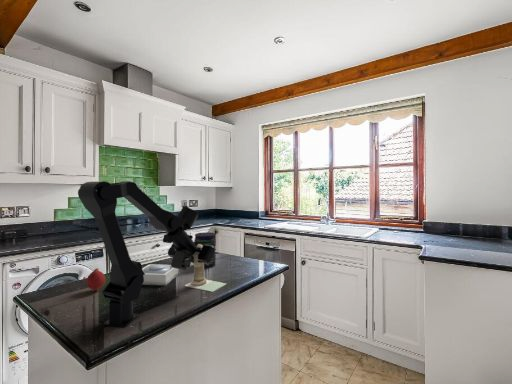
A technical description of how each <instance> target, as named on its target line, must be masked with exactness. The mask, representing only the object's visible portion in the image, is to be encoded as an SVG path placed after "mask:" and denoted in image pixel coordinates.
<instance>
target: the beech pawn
mask: <svg viewBox="0 0 512 384" xmlns="http://www.w3.org/2000/svg"><path fill="white" fill-rule="evenodd" d="M197 247H199V248H202V247H203V245H201V244H198V245H197ZM193 257H194V263H193V278H192V279H191V282H192V285H194V286H201V285H204V284H206V280H207V278H206V277H205V268H204V263H202V262H198V254H194V255H193Z"/></svg>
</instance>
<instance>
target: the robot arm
mask: <svg viewBox="0 0 512 384" xmlns="http://www.w3.org/2000/svg"><path fill="white" fill-rule="evenodd" d="M77 197H78V199H79V200H80V202H81V203H82V205H83V207H84V208H85V210H86V211H88V212H89V214H90V215H91V216H93V218H94V220H95V223H96V226H97V229H98V231H99V235H100V237H101V240H102V242H103V245H104V247H105V251H106V253H107V256H108V259H109V261H110V265H111V267H110V271H109V279H110V281H109V282H108V283H107V285H105V287H104V288H103V290H102V291H101V294H102V296H103V299H105V300H109V302H108V319H107V320H106V321H105V322H104V323H103V326H106V327H107V326H108V327H127V326H129V324H131V323H132V322H133V321H134V320H136V318H137V317H139V314H138V313H134V301H136V300H138V299H139V298H140V293H141V290H142V287H143V285H142V284H143V282H144V276H143V275H145V273H144V272H143V270H142V268H143V265H142V263H141V262H140V261H135V260H132V259H131V257H130V253H129V250H128V247H127V245H126V242H125V238H124V235H123V233H122V229H121V226H120V223H119V220H118V217H117V215H116V209H117V205H118V199H121V198H124V199H125V200H127V201H128V202H129V203H130V204H131V205H133V206H134V207H135V208H136V209H138V210H139V211H140V212H141V213H143V214H144V215H145V216H146V217H147V218H148V220H149V223H150V224H151V225H152V226H153V228H154V229H155V230H156V231H161V232H166V233H165V234H164V235H163V238H162V242H163V243H164V244H165V243H166V244H171V245H170V247H169V248H168V251H167V256H168V257H170V258H172V260H171V264H170V265H171V267H173V268H177V269H179V270H183V271H186V270H187V269H189V268H190V267H191V263H192V264H194V254H198V262H202V263H205V264H206V265H209V262H210V260H211V258H212V256H213V254H214V252H215V253H216V250H217V249H216V246H215V247H214V246H213V245H203V247H202V248H199V247H197V245H198V243H197V242H195V241H194V240H193V238H194V237H193V235H192V234H191V235H190V234H188V233H187V232H186V231H187V230H191V228H193V225H194V223H195V222H196V220H197V218H198V217H199V213H198V212H197V211H196V210H194V209H192V208H190V207H189V206H188V205H185V206H182V208H181V210H180V211H179V213H178V215H177V214H176V213H173V212H172V211H170V210H167V209H164V208H162V207H161V206H160V205H158V203H156V202H155V201H154V200H153V199H152V198H151V197H150V196H148V195H147V194H146V192H144V191H143V190H142V189H141V188H139V187H138V184H137V183H136V182H134V181H131V180H127V181H125V180H124V181H123V180H122V181H119V182H114V183H113V182H111V183H110V182H109V181H105V180H104V181H102V180H101V181H86V182H84V183H83V184H81V186H80V187H79V188H78V190H77Z"/></svg>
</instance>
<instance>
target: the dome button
mask: <svg viewBox="0 0 512 384" xmlns="http://www.w3.org/2000/svg"><path fill="white" fill-rule="evenodd" d="M167 265H168V264H159V263H158V264H157V265H152V266H149V267H146V268H145V269H144V273H151V274H165V273H166V272H168V271H169V270H170V267H169V266H167Z"/></svg>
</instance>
